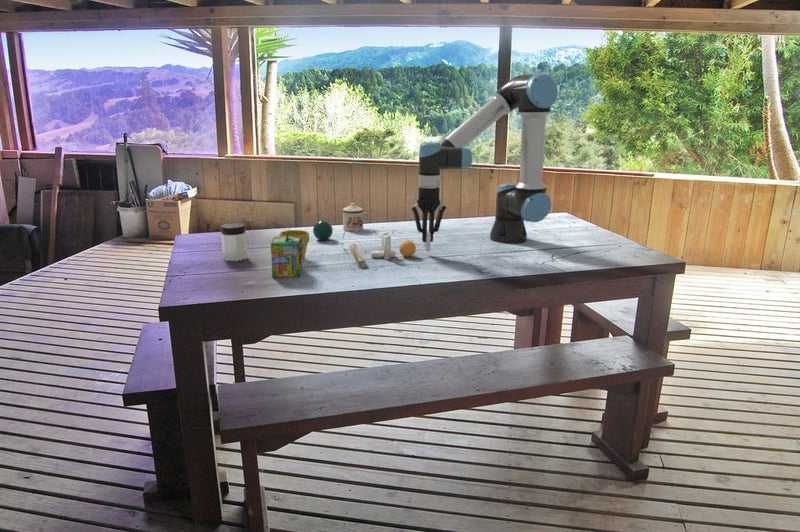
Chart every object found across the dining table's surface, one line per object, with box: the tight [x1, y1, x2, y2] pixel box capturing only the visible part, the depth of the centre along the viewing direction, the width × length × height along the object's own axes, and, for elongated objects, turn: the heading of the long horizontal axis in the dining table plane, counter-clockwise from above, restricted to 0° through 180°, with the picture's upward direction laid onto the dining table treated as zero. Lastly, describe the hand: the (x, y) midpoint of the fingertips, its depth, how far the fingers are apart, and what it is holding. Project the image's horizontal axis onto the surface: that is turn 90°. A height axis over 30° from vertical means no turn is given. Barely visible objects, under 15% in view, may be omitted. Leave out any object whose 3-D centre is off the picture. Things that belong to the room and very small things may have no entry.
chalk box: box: [270, 228, 303, 279], centre depth 184 cm, size 9×9×15 cm
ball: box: [399, 240, 417, 258], centre depth 208 cm, size 6×6×6 cm
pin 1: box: [381, 231, 389, 251], centre depth 208 cm, size 2×2×8 cm
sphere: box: [312, 220, 333, 241], centre depth 230 cm, size 8×8×8 cm
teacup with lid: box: [342, 202, 370, 232], centre depth 250 cm, size 12×9×12 cm
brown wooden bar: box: [349, 243, 366, 269], centre depth 205 cm, size 2×24×2 cm, turn 12°
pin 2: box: [383, 234, 392, 261], centre depth 204 cm, size 2×2×8 cm
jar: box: [220, 222, 248, 262], centre depth 201 cm, size 9×8×12 cm
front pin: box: [370, 250, 396, 259], centre depth 207 cm, size 2×2×8 cm
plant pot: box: [278, 229, 310, 261], centre depth 201 cm, size 10×10×10 cm
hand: (427, 250), depth 210 cm, fingers closed
